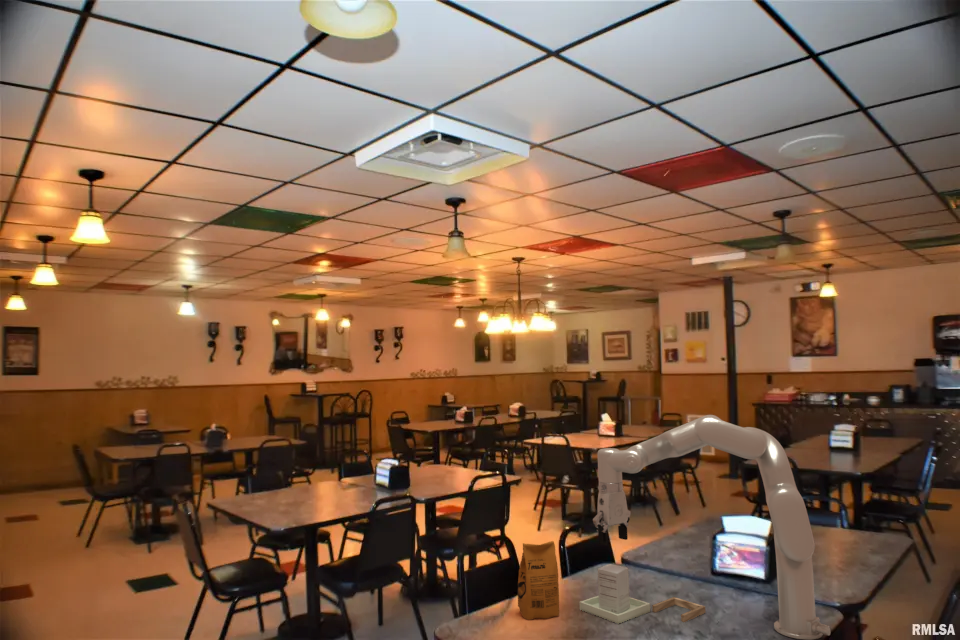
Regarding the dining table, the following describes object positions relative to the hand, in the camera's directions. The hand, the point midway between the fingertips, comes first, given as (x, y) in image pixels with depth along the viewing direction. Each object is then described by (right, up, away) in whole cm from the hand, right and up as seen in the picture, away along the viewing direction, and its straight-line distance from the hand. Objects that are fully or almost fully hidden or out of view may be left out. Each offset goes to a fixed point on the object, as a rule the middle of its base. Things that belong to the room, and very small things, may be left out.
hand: (613, 541), depth 204 cm
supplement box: (0, -21, -2) cm, 21 cm away
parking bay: (+20, -21, -4) cm, 29 cm away
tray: (0, -21, -2) cm, 21 cm away
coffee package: (-24, -22, -3) cm, 33 cm away
